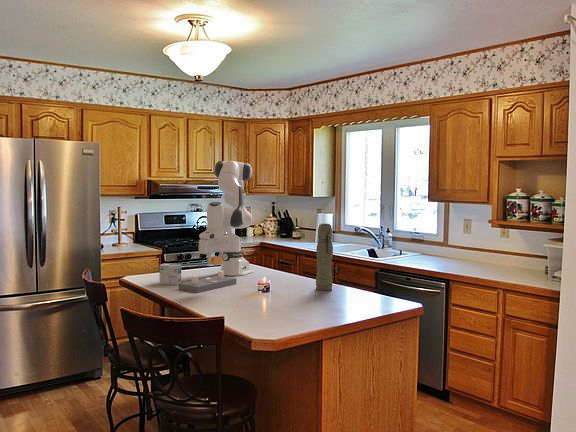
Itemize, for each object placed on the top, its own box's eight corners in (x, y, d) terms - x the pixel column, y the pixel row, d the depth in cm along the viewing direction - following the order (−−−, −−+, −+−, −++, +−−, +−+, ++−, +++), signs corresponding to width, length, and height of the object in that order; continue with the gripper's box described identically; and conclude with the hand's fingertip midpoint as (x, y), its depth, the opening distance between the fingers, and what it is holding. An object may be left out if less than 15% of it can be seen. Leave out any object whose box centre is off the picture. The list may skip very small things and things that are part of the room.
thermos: (323, 292, 273) (324, 225, 270) (311, 288, 283) (312, 223, 280) (337, 290, 277) (338, 224, 275) (324, 286, 287) (325, 222, 285)
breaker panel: (217, 280, 300) (217, 275, 299) (236, 283, 292) (236, 278, 291) (178, 289, 275) (178, 283, 275) (197, 292, 267) (197, 286, 267)
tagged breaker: (208, 285, 285) (208, 277, 285) (211, 286, 284) (211, 278, 283) (205, 286, 283) (205, 278, 283) (208, 286, 282) (208, 278, 281)
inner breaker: (220, 278, 293) (220, 270, 293) (224, 278, 292) (224, 271, 291) (217, 278, 291) (217, 271, 291) (221, 279, 290) (221, 271, 289)
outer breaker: (195, 283, 277) (195, 275, 276) (198, 284, 275) (198, 276, 275) (191, 284, 275) (191, 276, 275) (195, 284, 273) (195, 276, 273)
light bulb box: (181, 282, 293) (181, 263, 292) (178, 285, 286) (178, 265, 286) (163, 282, 294) (163, 263, 294) (159, 284, 288) (159, 264, 287)
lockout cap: (214, 262, 273) (214, 255, 273) (222, 263, 270) (222, 257, 270) (207, 264, 269) (207, 257, 268) (215, 265, 266) (215, 258, 265)
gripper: (224, 231, 278) (224, 257, 280) (196, 235, 262) (196, 262, 263) (233, 232, 275) (233, 258, 276) (205, 236, 258) (205, 263, 259)
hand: (214, 260), depth 269 cm, fingers closed on lockout cap, 5 cm apart
